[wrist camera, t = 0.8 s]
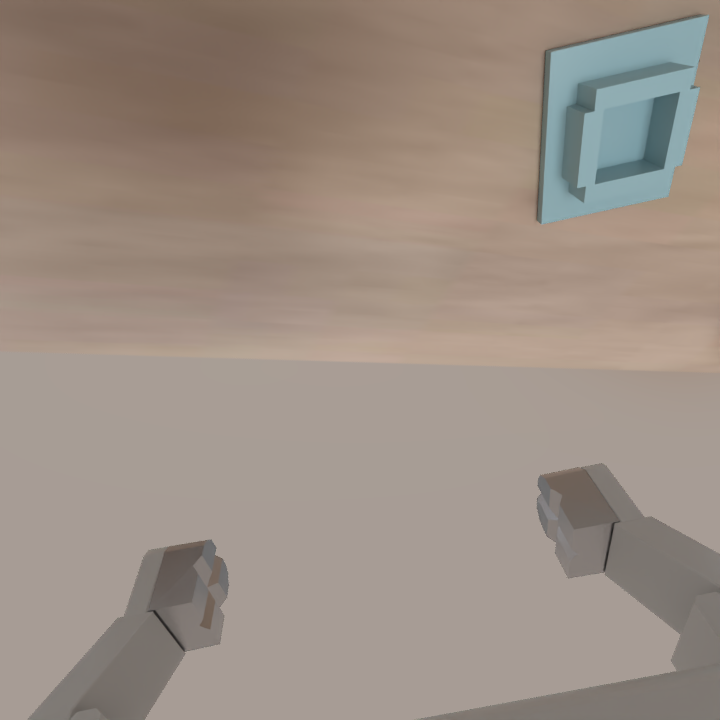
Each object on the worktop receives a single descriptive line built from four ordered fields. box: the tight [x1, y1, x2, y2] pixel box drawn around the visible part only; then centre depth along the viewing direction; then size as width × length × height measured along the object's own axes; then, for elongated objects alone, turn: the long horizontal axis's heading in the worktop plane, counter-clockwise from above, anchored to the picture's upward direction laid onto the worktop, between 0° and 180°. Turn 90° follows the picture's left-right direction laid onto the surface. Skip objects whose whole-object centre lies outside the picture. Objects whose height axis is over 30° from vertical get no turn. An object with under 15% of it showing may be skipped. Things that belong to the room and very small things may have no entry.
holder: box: [537, 15, 709, 224], centre depth 39 cm, size 14×12×4 cm
